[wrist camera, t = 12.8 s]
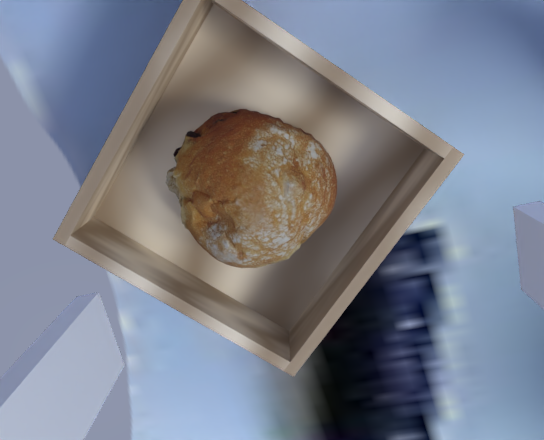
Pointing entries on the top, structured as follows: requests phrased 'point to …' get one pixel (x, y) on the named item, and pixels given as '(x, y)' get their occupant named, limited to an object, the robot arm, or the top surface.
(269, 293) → the wooden tray
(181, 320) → the top surface
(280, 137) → the bread roll
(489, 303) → the top surface
